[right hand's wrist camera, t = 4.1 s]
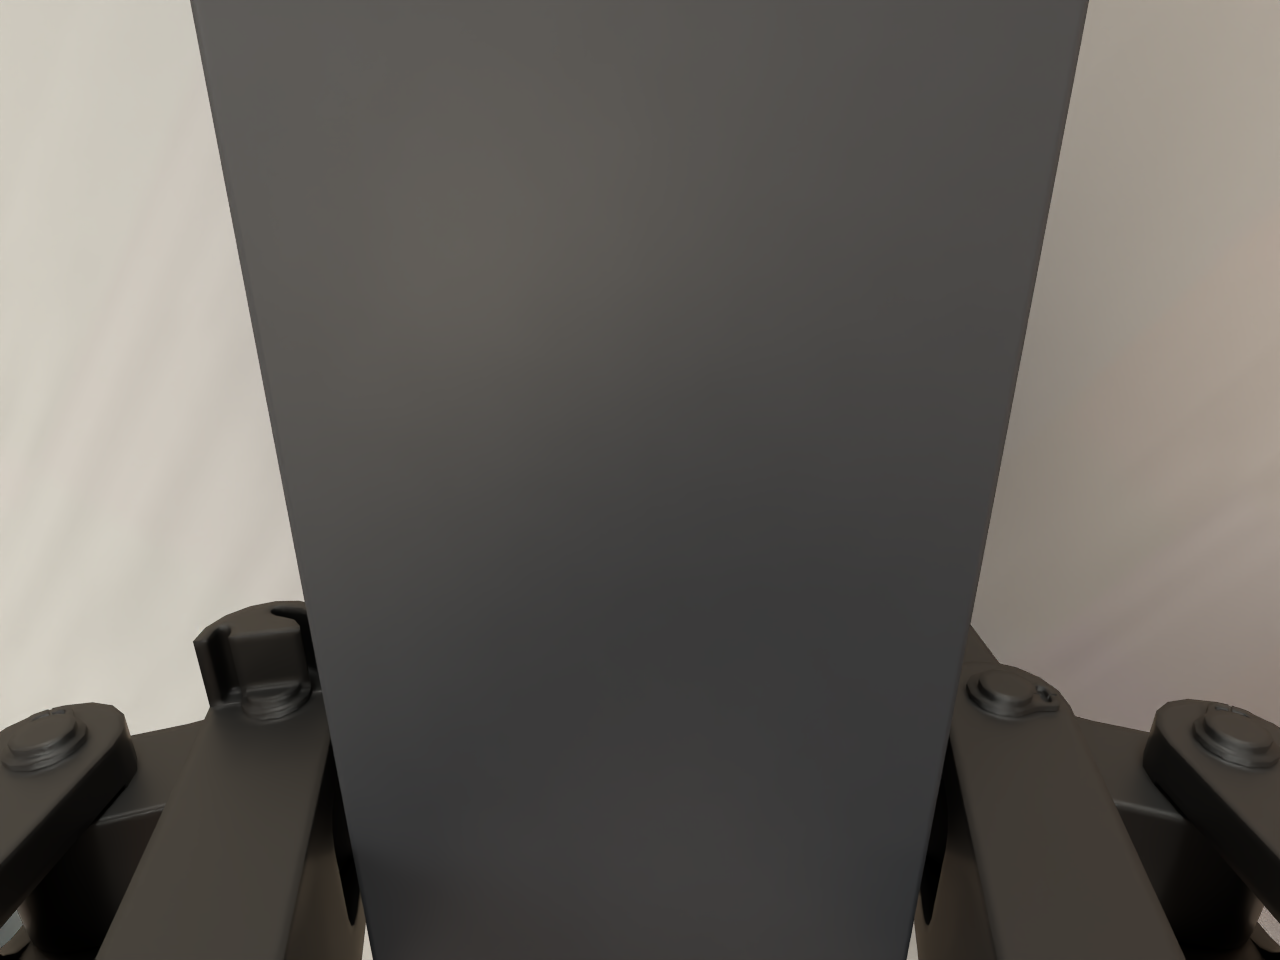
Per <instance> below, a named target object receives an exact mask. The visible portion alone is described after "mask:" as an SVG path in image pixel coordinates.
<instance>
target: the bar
mask: <svg viewBox="0 0 1280 960" xmlns="http://www.w3.org/2000/svg"><path fill="white" fill-rule="evenodd" d="M190 2H191V7H192V12H193V18H194V23H195V28H196V33H197V39H198V44H199V49H200V54H201V60H202V65H203V70H204V75H205V81H206V86H207V91H208V96H209V102H210V107H211V112H212V117H213V123H214V128H215V133H216V138H217V144H218V149H219V154H220V159H221V165H222V170H223V175H224V180H225V186H226V191H227V196H228V201H229V207H230V212H231V217H232V222H233V228H234V233H235V238H236V243H237V249H238V254H239V259H240V264H241V269H242V275H243V280H244V285H245V290H246V296H247V301H248V306H249V311H250V317H251V322H252V327H253V332H254V338H255V343H256V348H257V353H258V359H259V364H260V369H261V374H262V380H263V385H264V390H265V395H266V401H267V406H268V411H269V416H270V422H271V427H272V432H273V437H274V443H275V448H276V453H277V458H278V464H279V469H280V474H281V479H282V485H283V490H284V495H285V500H286V506H287V511H288V516H289V521H290V527H291V532H292V537H293V542H294V547H295V553H296V558H297V563H298V568H299V574H300V579H301V584H302V589H303V595H304V600H305V605H306V610H307V616H308V621H309V626H310V631H311V637H312V642H313V647H314V652H315V658H316V663H317V668H318V673H319V679H320V684H321V689H322V694H323V700H324V705H325V710H326V715H327V721H328V726H329V731H330V736H331V742H332V747H333V752H334V757H335V763H336V768H337V773H338V778H339V784H340V789H341V794H342V799H343V804H344V810H345V815H346V820H347V825H348V831H349V836H350V841H351V846H352V852H353V857H354V862H355V867H356V873H357V878H358V883H359V888H360V894H361V899H362V904H363V909H364V915H365V920H366V925H367V930H368V936H369V941H370V946H371V951H372V957H373V960H906V959H907V954H908V949H909V943H910V938H911V933H912V927H913V922H914V917H915V912H916V906H917V901H918V896H919V891H920V885H921V880H922V875H923V870H924V864H925V859H926V854H927V849H928V843H929V838H930V833H931V828H932V822H933V817H934V812H935V807H936V801H937V796H938V791H939V786H940V780H941V775H942V770H943V765H944V759H945V754H946V749H947V744H948V738H949V733H950V728H951V723H952V717H953V712H954V707H955V702H956V696H957V691H958V686H959V681H960V675H961V670H962V665H963V659H964V654H965V649H966V644H967V638H968V633H969V628H970V623H971V617H972V612H973V607H974V602H975V596H976V591H977V586H978V581H979V575H980V570H981V565H982V560H983V554H984V549H985V544H986V539H987V533H988V528H989V523H990V518H991V512H992V507H993V502H994V497H995V491H996V486H997V481H998V476H999V470H1000V465H1001V460H1002V455H1003V449H1004V444H1005V439H1006V434H1007V428H1008V423H1009V418H1010V413H1011V407H1012V402H1013V397H1014V392H1015V386H1016V381H1017V376H1018V370H1019V365H1020V360H1021V355H1022V349H1023V344H1024V339H1025V334H1026V328H1027V323H1028V318H1029V313H1030V307H1031V302H1032V297H1033V292H1034V286H1035V281H1036V276H1037V271H1038V265H1039V260H1040V255H1041V250H1042V244H1043V239H1044V234H1045V229H1046V223H1047V218H1048V213H1049V208H1050V202H1051V197H1052V192H1053V187H1054V181H1055V176H1056V171H1057V166H1058V160H1059V155H1060V150H1061V145H1062V139H1063V134H1064V129H1065V124H1066V118H1067V113H1068V108H1069V102H1070V97H1071V92H1072V87H1073V81H1074V76H1075V71H1076V66H1077V60H1078V55H1079V50H1080V45H1081V39H1082V34H1083V29H1084V24H1085V18H1086V13H1087V8H1088V3H1089V0H190Z"/></svg>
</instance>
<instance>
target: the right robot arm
mask: <svg viewBox="0 0 1280 960" xmlns="http://www.w3.org/2000/svg"><path fill="white" fill-rule="evenodd" d="M193 643H194V647H195V651H196V655H197V658H198V662H199V666H200V670H201V674H202V678H203V681H204V685H205V689H206V693H207V697H208V701H209V705H210V708H209V711H208V713H207V715H206V717H205V719H204V720H201V721H197V722H194V723H190V724H186V725H181V726H176V727H171V728H166V729H161V730H157V731H152V732H147V733H142V734H137V735H132V736H130V732H129V729H128V726H127V723H126V720H125V717H124V714H123V713H121V712H120V711H119V710H118V709H116V708H115V707H114V706H113V705H106V704H99V703H93V702H92V703H83V704H74V705H65V706H60V707H56V708H52V710H45V711H42V712H39V713H36V714H33V715H31V716H30V717H28V718H26V719H24V720H22V721H20V722H18V723H16V724H13V725H11V726H9V727H7V728H5V729H4V730H2V731H1V732H0V928H1V927H2V926H3V925H4V924H5V922H6V921H7V920H8V919H9V918H10V917H11V915H12V914H13V913H14V912H15V911H16V910H17V911H18V913H19V916H20V918H21V920H22V923H23V926H22V927H21V928H20V929H19V930H18V932H17V933H16V934H15V935H14V936H13V938H12V939H11V940H10V941H9V942H8V943H6V944H5V945H4V946H3V947H2V948H1V949H0V960H362V952H363V943H364V934H365V925H366V920H365V915H364V909H363V904H362V899H361V894H360V888H359V883H358V878H357V873H356V867H355V862H354V857H353V852H352V846H351V841H350V836H349V831H348V825H347V820H346V815H345V810H344V804H343V799H342V794H341V789H340V784H339V778H338V773H337V768H336V763H335V757H334V752H333V747H332V742H331V736H330V731H329V726H328V721H327V715H326V710H325V705H324V700H323V694H322V689H321V684H320V679H319V673H318V668H317V663H316V658H315V652H314V647H313V642H312V637H311V631H310V626H309V621H308V616H307V610H306V605H305V602H302V601H275V602H270V603H265V604H260V605H255V606H250V607H247V608H244V609H242V610H239V611H236V612H234V613H231V614H228V615H226V616H224V617H222V618H221V619H219V620H217V621H216V622H214V623H213V624H211V625H209V626H208V627H206V628H205V629H204V630H203V631H202V632H201V633H200V634H199V636H198V637H197V638H196V639H195V640H194V641H193ZM1264 906H1265V907H1266V908H1267V909H1268V911H1269V912H1270V913H1271V914H1272V915H1273V916H1274V917H1275V919H1276V920H1277V921H1278V922H1279V923H1280V728H1279V727H1278V726H1276V725H1275V724H1273V723H1270V722H1268V721H1266V720H1264V719H1262V718H1260V717H1257V716H1255V715H1253V714H1252V713H1250V712H1248V711H1246V710H1243V709H1240V708H1237V707H1234V706H1232V707H1230V706H1228V705H1227V704H1223V703H1218V702H1211V701H1202V700H1192V699H1185V700H1178V701H1172V702H1167V703H1166V704H1165V705H1163V706H1162V707H1161V708H1160V709H1158V710H1157V711H1156V714H1155V718H1154V721H1153V724H1152V727H1151V730H1150V733H1149V732H1145V731H1140V730H1135V729H1130V728H1125V727H1120V726H1115V725H1110V724H1105V723H1100V722H1095V721H1091V720H1087V719H1083V718H1080V717H1076V716H1074V714H1073V711H1072V709H1071V707H1070V705H1069V704H1068V703H1067V701H1066V700H1065V699H1064V697H1063V696H1062V695H1061V694H1060V692H1059V691H1058V690H1056V689H1055V688H1054V687H1052V686H1051V685H1049V684H1048V683H1047V682H1045V681H1044V680H1042V679H1041V678H1040V677H1037V676H1035V675H1033V674H1030V673H1028V672H1026V671H1023V670H1021V669H1019V668H1016V667H1012V666H1008V665H1003V664H1000V663H999V662H998V661H997V659H996V658H995V657H994V655H993V654H992V653H991V651H990V650H989V649H988V647H987V646H986V645H985V643H984V642H983V641H982V639H981V638H980V637H979V635H978V634H977V633H976V631H975V630H974V629H973V627H972V626H971V625H970V628H969V633H968V638H967V644H966V649H965V654H964V659H963V665H962V670H961V675H960V681H959V686H958V691H957V696H956V702H955V707H954V712H953V717H952V723H951V728H950V733H949V738H948V744H947V749H946V754H945V759H944V765H943V770H942V775H941V780H940V786H939V791H938V796H937V801H936V807H935V812H934V817H933V822H932V828H931V833H930V838H929V843H928V849H927V854H926V859H925V864H924V870H923V875H922V880H921V885H920V891H919V896H918V901H917V906H916V912H915V917H914V924H915V932H916V941H917V950H918V959H919V960H1280V946H1279V945H1278V944H1277V943H1276V942H1275V941H1274V940H1273V939H1272V938H1271V937H1270V936H1269V935H1268V934H1267V933H1266V931H1265V930H1264V929H1263V928H1262V927H1261V925H1260V924H1259V923H1258V922H1257V921H1258V919H1259V916H1260V914H1261V912H1262V909H1263V907H1264Z"/></svg>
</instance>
